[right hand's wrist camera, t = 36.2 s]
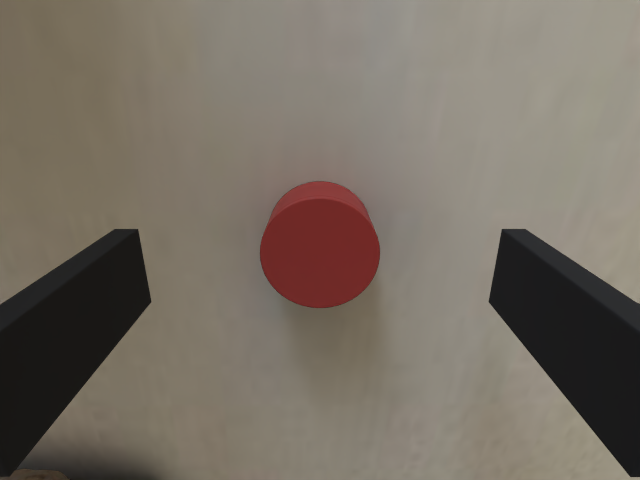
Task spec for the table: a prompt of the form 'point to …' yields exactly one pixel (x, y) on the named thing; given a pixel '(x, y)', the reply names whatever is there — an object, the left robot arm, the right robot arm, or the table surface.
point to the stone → (35, 475)
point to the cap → (319, 246)
